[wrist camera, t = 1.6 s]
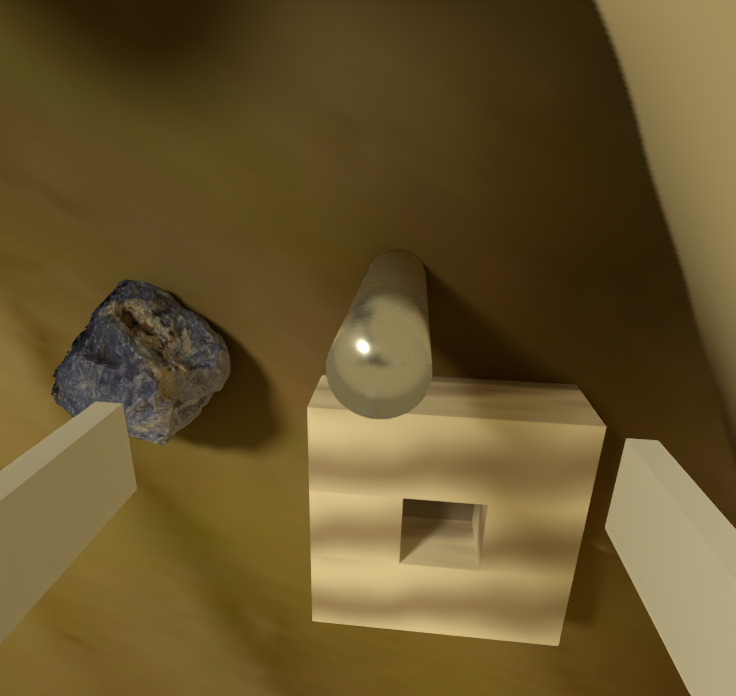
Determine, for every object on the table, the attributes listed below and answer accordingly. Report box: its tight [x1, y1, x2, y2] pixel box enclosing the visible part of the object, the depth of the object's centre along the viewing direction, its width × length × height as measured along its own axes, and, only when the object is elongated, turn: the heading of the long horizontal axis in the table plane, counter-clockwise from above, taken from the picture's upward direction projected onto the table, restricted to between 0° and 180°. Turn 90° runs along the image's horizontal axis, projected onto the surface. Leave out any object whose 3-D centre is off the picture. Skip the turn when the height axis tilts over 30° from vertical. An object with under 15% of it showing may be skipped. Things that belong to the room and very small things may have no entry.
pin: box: [326, 249, 432, 419], centre depth 26 cm, size 4×4×16 cm
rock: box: [51, 280, 231, 445], centre depth 34 cm, size 11×10×10 cm
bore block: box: [307, 370, 606, 646], centre depth 36 cm, size 18×18×6 cm
